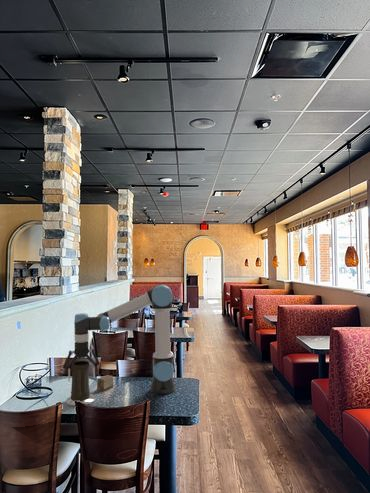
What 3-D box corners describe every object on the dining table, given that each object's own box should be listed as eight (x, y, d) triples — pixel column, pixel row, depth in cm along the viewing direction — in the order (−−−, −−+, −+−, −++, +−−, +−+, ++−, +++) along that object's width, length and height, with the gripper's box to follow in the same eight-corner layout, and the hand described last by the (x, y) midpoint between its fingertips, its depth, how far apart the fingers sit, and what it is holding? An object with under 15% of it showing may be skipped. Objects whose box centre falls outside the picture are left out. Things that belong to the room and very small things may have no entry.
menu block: (113, 387, 238) (113, 376, 238) (103, 391, 230) (103, 379, 230) (107, 386, 240) (107, 375, 241) (97, 390, 233) (97, 378, 233)
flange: (101, 400, 215) (101, 398, 215) (76, 408, 203) (76, 406, 203) (85, 394, 226) (85, 392, 226) (60, 401, 213) (60, 399, 214)
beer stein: (69, 395, 220) (70, 360, 220) (88, 392, 224) (89, 359, 224) (71, 406, 206) (72, 369, 206) (91, 403, 210) (92, 367, 209)
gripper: (103, 338, 223) (103, 374, 222) (58, 341, 215) (58, 379, 214) (104, 340, 216) (104, 378, 215) (58, 344, 208) (58, 383, 207)
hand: (81, 379), depth 215 cm, fingers open, 13 cm apart
